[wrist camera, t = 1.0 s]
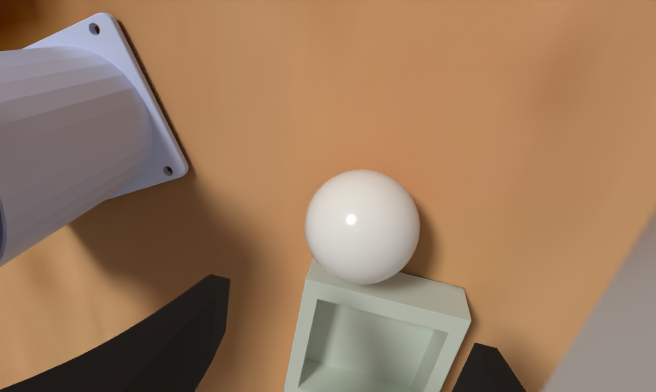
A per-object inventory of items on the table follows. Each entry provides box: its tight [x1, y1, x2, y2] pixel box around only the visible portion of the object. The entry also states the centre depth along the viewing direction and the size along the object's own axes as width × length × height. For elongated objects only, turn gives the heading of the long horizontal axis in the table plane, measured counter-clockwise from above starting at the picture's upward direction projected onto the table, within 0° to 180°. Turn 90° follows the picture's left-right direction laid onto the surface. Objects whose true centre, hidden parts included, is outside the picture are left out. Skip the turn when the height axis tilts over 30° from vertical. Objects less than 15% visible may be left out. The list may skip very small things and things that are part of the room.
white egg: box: [305, 169, 420, 285], centre depth 18 cm, size 5×5×5 cm
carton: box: [283, 257, 471, 392], centre depth 24 cm, size 16×8×2 cm, turn 170°
